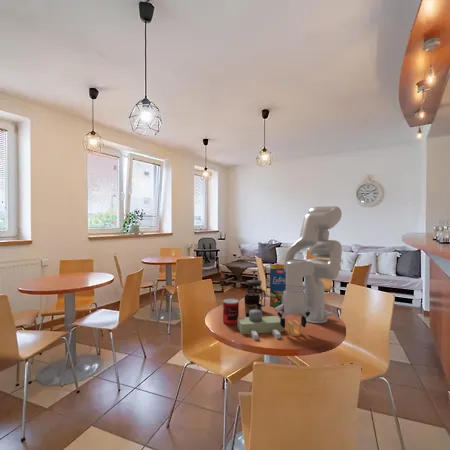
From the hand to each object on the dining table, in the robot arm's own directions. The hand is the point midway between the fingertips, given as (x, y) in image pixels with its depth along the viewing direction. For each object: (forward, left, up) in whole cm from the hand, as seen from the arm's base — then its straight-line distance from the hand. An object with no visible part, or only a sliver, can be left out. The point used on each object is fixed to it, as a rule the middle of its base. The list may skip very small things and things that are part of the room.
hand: (293, 326), depth 127 cm
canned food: (+25, -19, -4) cm, 32 cm away
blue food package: (-10, -44, -4) cm, 45 cm away
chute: (-1, -1, -3) cm, 4 cm away
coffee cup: (+13, -23, -4) cm, 26 cm away
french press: (+8, -36, -4) cm, 37 cm away
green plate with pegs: (+13, -4, -3) cm, 14 cm away
